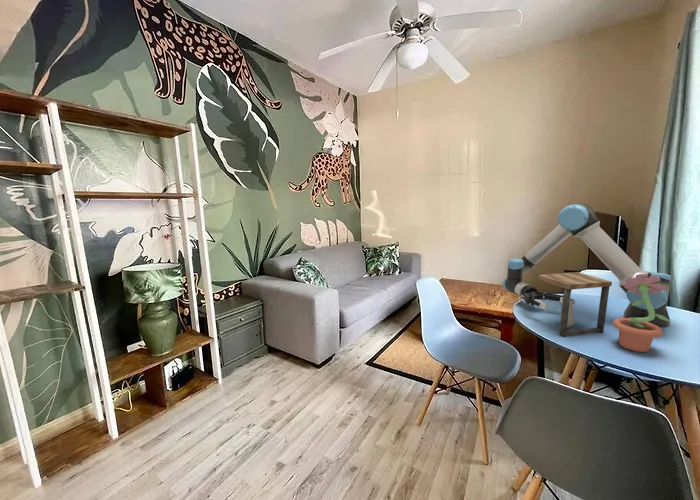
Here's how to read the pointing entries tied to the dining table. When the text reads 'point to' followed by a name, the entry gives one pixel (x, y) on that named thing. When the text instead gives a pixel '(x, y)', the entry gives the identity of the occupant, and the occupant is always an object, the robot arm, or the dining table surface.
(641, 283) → the decorative flower
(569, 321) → the salt shaker
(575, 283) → the wooden side table
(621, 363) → the dining table surface
